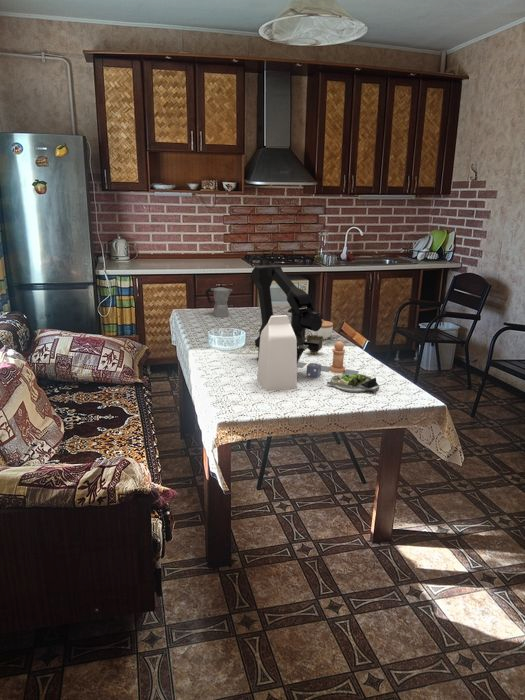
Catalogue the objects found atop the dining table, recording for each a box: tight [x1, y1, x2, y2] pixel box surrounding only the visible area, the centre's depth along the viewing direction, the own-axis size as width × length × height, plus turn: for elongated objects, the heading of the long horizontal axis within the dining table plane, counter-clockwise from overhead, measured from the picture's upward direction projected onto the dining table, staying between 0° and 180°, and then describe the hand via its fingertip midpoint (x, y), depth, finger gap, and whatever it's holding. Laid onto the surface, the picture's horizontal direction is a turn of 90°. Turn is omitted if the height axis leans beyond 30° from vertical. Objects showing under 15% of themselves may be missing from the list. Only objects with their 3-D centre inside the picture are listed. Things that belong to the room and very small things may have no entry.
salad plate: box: [326, 373, 380, 393], centre depth 201 cm, size 19×18×5 cm
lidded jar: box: [310, 319, 334, 340], centre depth 263 cm, size 11×11×9 cm
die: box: [305, 362, 322, 379], centre depth 210 cm, size 4×5×5 cm
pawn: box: [329, 340, 346, 374], centre depth 215 cm, size 6×6×12 cm
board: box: [297, 361, 360, 375], centre depth 219 cm, size 28×7×1 cm, turn 68°
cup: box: [305, 334, 324, 356], centre depth 238 cm, size 8×7×8 cm
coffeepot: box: [204, 283, 233, 318], centre depth 302 cm, size 15×9×18 cm, turn 103°
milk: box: [256, 314, 298, 391], centre depth 197 cm, size 12×12×26 cm
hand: (296, 363), depth 212 cm, fingers closed
